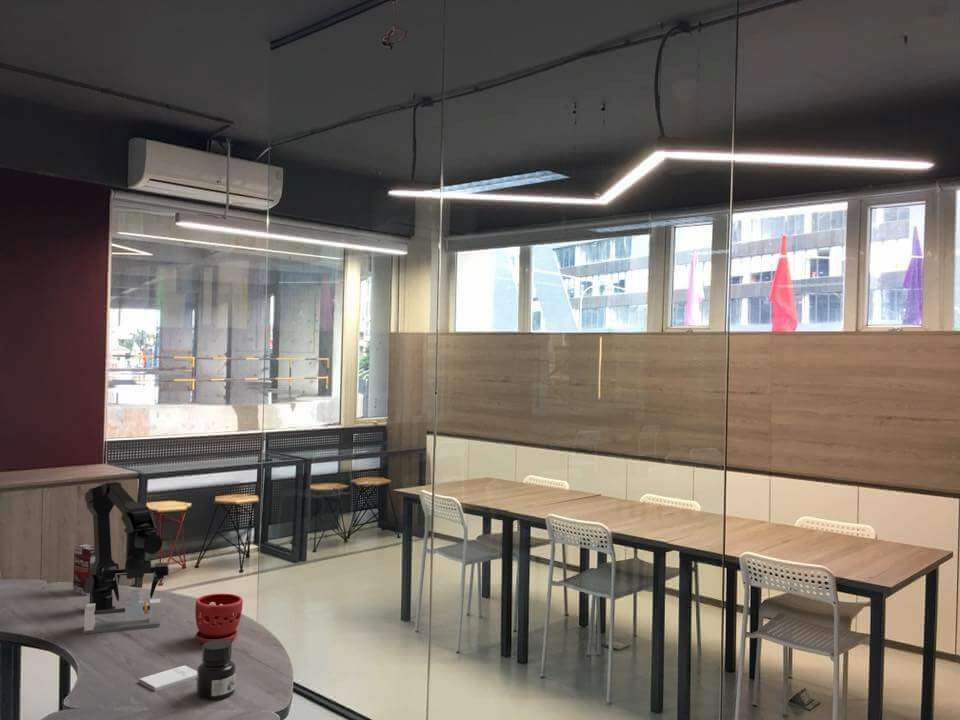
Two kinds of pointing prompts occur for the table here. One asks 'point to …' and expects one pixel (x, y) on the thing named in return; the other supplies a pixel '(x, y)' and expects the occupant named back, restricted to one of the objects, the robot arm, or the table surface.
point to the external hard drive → (169, 678)
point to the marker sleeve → (134, 605)
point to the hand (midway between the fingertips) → (134, 599)
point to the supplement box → (82, 566)
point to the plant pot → (218, 617)
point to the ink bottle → (216, 671)
